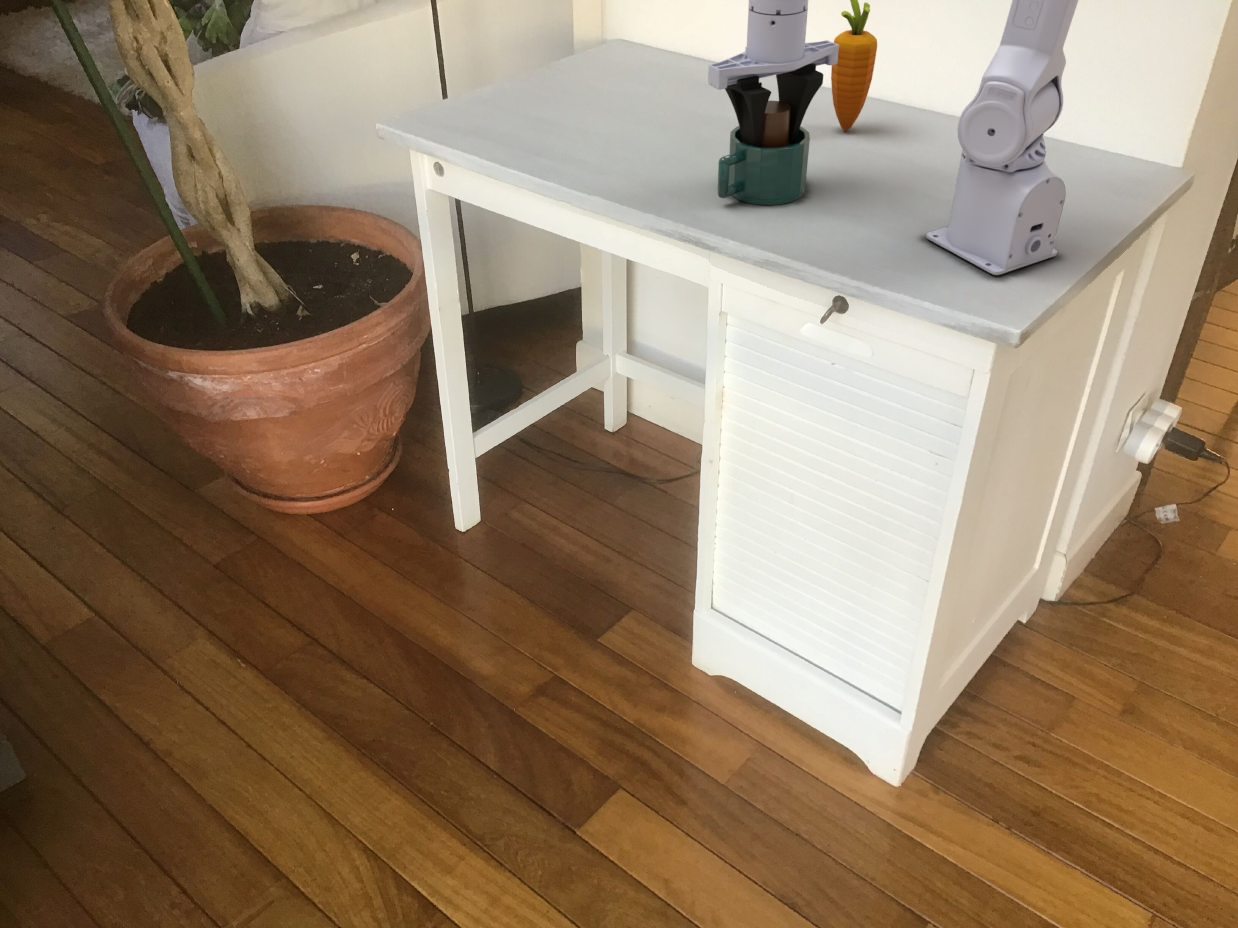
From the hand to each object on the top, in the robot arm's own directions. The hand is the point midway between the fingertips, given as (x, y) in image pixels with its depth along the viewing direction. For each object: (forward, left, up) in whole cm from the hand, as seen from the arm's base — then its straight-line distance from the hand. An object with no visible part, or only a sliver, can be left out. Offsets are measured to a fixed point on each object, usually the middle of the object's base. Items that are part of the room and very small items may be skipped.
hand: (769, 145), depth 107 cm
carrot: (+9, -18, -5) cm, 21 cm away
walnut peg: (0, 0, -2) cm, 2 cm away
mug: (0, +1, -5) cm, 5 cm away
